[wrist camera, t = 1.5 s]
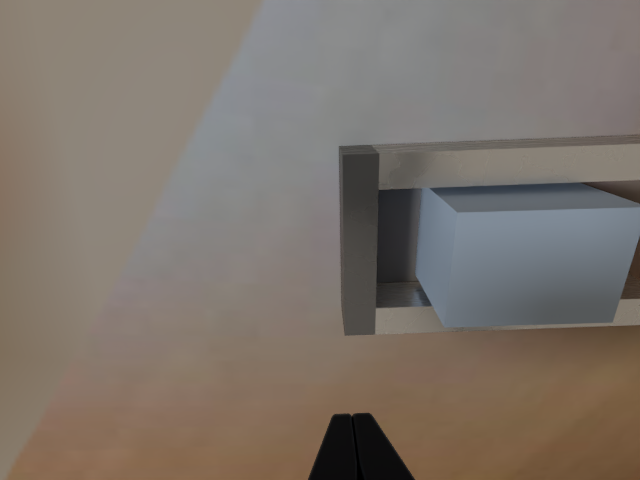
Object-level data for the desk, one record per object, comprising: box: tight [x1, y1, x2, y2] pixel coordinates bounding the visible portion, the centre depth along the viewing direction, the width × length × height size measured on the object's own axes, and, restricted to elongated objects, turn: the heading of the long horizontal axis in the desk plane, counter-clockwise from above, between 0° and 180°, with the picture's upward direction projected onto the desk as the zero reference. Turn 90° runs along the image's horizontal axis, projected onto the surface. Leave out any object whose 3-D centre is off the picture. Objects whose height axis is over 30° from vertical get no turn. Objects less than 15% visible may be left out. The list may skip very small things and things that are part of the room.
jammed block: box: [415, 182, 640, 328], centre depth 17 cm, size 7×5×5 cm
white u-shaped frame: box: [339, 135, 640, 335], centre depth 18 cm, size 16×9×2 cm, turn 92°
